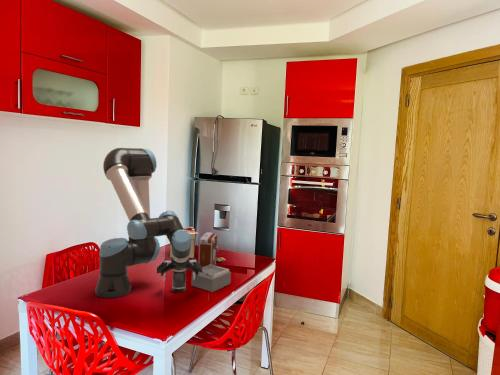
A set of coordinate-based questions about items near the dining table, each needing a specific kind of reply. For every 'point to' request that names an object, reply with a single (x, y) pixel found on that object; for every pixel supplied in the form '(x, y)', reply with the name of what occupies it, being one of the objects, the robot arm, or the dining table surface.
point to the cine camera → (208, 249)
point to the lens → (179, 280)
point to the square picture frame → (223, 271)
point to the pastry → (220, 259)
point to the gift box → (192, 233)
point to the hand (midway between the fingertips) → (179, 277)
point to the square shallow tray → (211, 280)
